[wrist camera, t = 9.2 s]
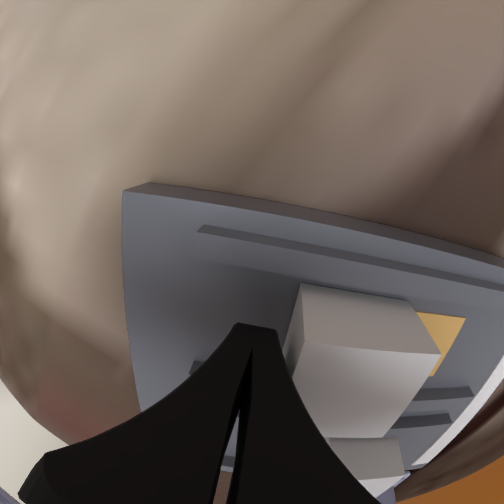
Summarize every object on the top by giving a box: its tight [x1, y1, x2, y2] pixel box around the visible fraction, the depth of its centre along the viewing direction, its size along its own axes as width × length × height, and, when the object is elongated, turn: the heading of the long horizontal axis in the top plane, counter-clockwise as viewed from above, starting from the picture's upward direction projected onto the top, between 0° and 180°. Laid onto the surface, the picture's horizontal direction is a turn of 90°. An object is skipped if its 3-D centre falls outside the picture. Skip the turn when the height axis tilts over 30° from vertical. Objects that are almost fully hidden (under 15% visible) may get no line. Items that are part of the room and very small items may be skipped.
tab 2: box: [324, 437, 405, 498], centre depth 11 cm, size 4×4×3 cm
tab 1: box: [282, 283, 442, 438], centre depth 8 cm, size 4×4×3 cm
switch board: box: [122, 182, 504, 472], centre depth 12 cm, size 16×20×3 cm
